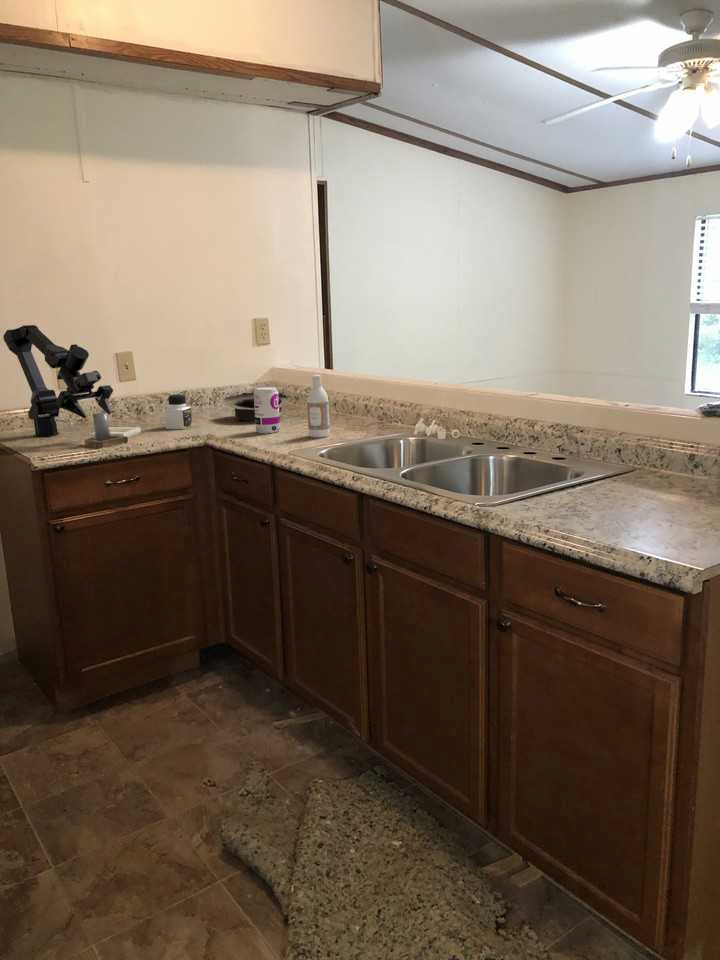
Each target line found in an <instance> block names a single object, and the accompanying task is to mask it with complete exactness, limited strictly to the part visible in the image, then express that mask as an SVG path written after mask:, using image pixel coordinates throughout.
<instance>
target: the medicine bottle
mask: <svg viewBox="0 0 720 960" xmlns="http://www.w3.org/2000/svg"><path fill="white" fill-rule="evenodd" d="M167 397H168V398H167V399H168V407H169V408H166V409H164V418H165V428H166V430H185V428H186V429H188V428H190V426H191V427H193V418H192V407H191V406H187V400H186V395H185V394H184V393H183V394H181V393H179V394H178V393H177V394H176V393H175V394H171V395H168V396H167Z"/></svg>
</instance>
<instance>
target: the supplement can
mask: <svg viewBox="0 0 720 960" xmlns="http://www.w3.org/2000/svg"><path fill="white" fill-rule="evenodd" d="M253 392H254V406H255V421H254V422H255V431H256V432H257V433H258V434H262V433H264V434H265V435H266V434H267V435H269V434H268V433H270V434H275V433H276V434H277V433H279V431H280V430H281V424H280V423H281V422H280V413H279V399H278V393H279V391H278V389H277V387H273V386H265V387H264V386H262V387H261V386H260V387H256V388H255V389H254V391H253Z"/></svg>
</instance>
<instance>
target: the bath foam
mask: <svg viewBox="0 0 720 960" xmlns="http://www.w3.org/2000/svg"><path fill="white" fill-rule="evenodd" d="M311 377H312V387H311V389H310V391H309V393H308V395H307V400H306V403H307V406H306V407H307V425H308V430H307V431H308V436H309V437H310V438H317V439H320V438H321V439H322V438H326V437H329V436H330V409H329V408H330V407H329V406H330V402H329V398H328V397H329V396H328V394H327V392H326V390H325V389H324V388H323V386H322V385H323V384H322V383H323V382H322V375H321V374H312V376H311Z"/></svg>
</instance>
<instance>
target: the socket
mask: <svg viewBox="0 0 720 960" xmlns="http://www.w3.org/2000/svg"><path fill="white" fill-rule="evenodd" d="M127 442H128V443H129V438H128V437H126V436H119V435H110V439H108V440H103V441H96V439H84V447H87V446H89V447H88V448H93V447H96V449H103V448H102V447H104V448H108V446H109V447H113V446H112V445H114V446H118V445H117V444H119V445H123V444H122V443H124V444H128V443H127Z"/></svg>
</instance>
